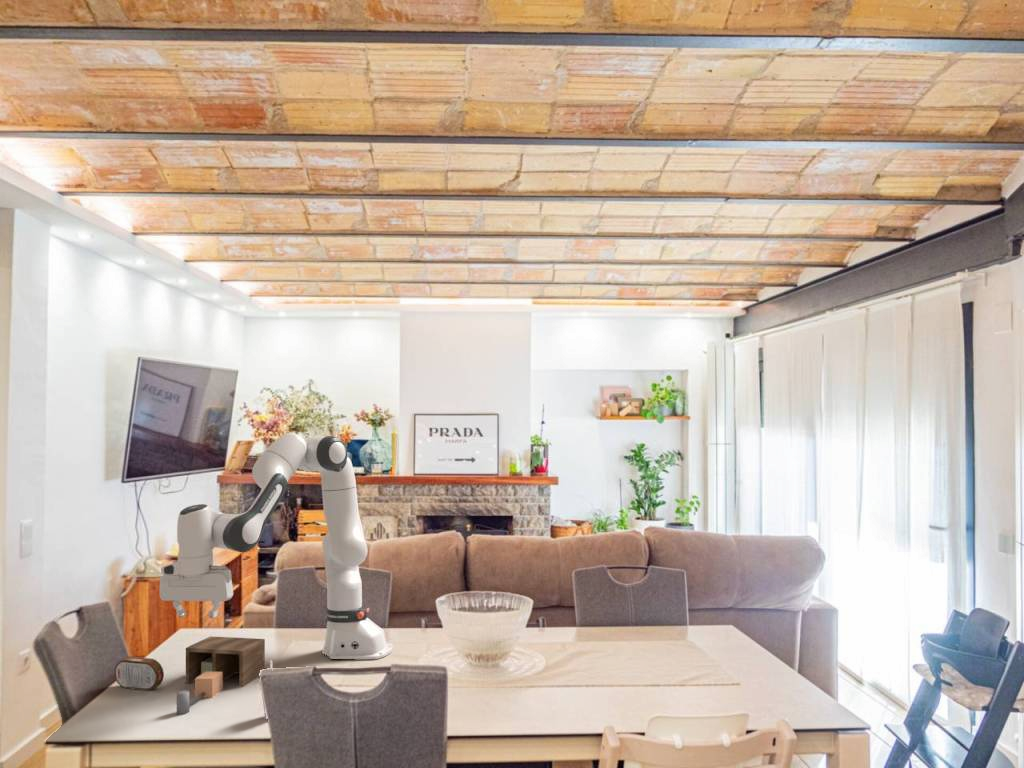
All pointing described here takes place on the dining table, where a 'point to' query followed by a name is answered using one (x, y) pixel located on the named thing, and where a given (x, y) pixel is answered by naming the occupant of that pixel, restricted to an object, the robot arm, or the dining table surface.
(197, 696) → the pull block
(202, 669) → the green block
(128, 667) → the tin
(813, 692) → the dining table surface
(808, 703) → the dining table surface
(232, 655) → the shelf unit
